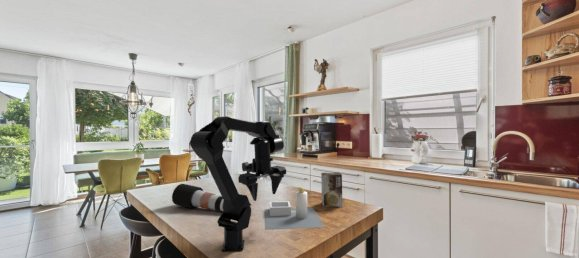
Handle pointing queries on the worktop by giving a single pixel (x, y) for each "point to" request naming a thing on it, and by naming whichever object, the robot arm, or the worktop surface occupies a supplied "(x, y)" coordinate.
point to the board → (289, 217)
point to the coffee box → (332, 189)
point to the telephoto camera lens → (196, 198)
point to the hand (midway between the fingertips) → (264, 197)
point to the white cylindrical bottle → (301, 203)
